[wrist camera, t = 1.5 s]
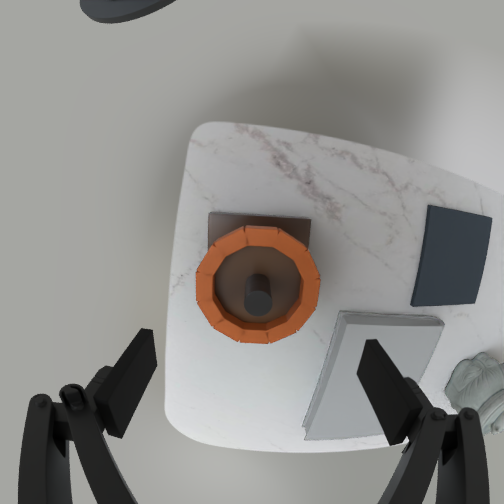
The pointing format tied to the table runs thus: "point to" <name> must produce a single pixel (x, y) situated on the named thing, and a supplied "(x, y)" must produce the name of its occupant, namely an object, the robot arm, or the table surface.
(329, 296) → the table surface
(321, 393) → the book
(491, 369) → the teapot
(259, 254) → the ring stand
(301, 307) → the ring
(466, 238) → the mat
